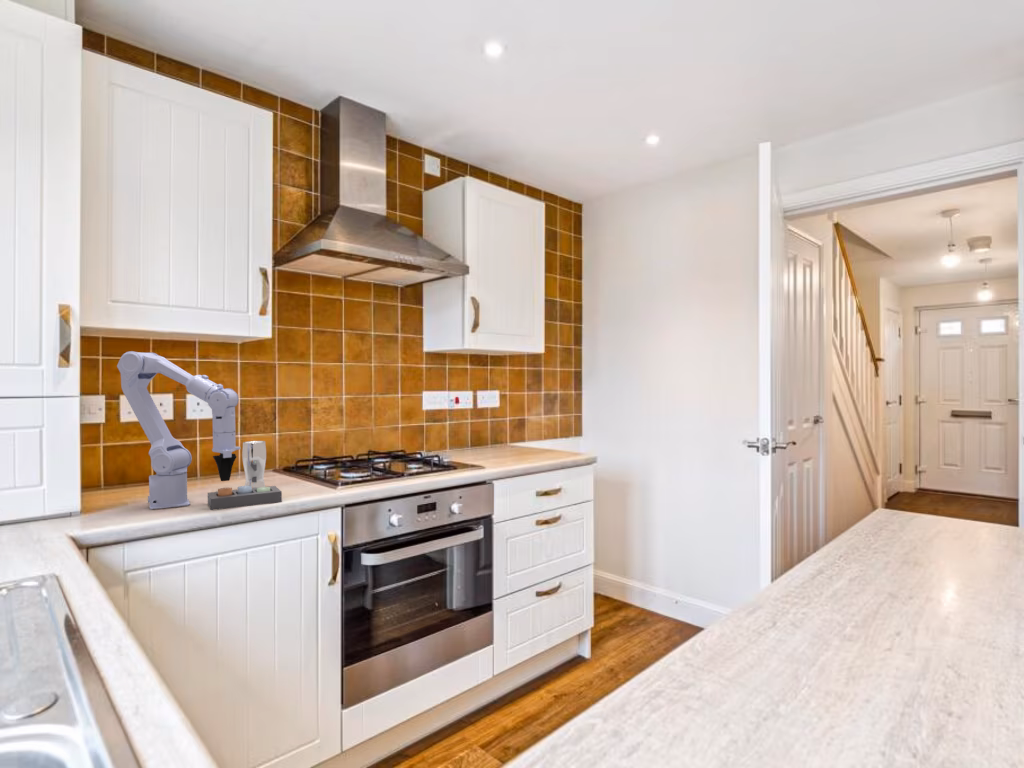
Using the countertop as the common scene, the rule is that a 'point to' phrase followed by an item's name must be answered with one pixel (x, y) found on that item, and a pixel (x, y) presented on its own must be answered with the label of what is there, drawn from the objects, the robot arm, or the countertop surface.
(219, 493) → the orange button
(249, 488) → the blue button
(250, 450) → the beer glass
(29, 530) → the countertop surface
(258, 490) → the green button
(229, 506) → the button panel
